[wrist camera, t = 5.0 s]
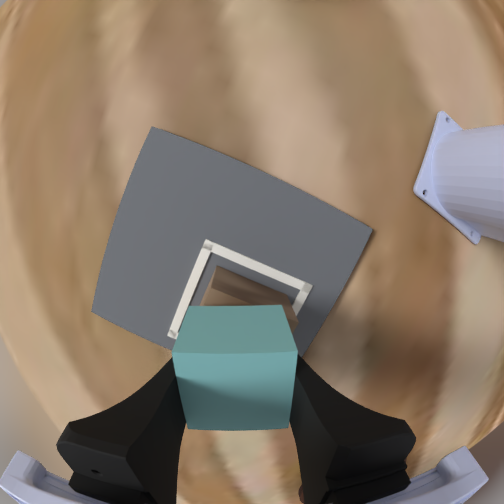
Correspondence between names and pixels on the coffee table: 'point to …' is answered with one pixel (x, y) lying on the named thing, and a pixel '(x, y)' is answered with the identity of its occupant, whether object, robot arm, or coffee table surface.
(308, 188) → the coffee table surface
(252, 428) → the teal block
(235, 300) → the walnut block
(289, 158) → the coffee table surface
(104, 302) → the grey flat plate
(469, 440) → the coffee table surface
